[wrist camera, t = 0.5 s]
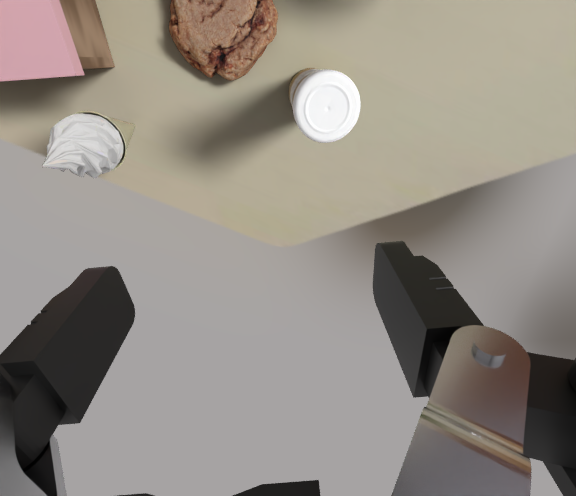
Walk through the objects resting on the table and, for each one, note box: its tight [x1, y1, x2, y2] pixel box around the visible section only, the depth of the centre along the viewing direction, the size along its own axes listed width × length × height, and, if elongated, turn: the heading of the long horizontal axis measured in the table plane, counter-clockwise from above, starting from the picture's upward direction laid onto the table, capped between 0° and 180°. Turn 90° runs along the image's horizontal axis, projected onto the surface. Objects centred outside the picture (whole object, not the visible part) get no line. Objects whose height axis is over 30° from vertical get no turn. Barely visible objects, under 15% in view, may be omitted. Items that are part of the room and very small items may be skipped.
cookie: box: [169, 0, 278, 81], centre depth 28 cm, size 10×11×3 cm
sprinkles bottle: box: [289, 68, 360, 143], centre depth 27 cm, size 5×5×14 cm
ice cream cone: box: [42, 111, 135, 178], centre depth 27 cm, size 5×5×15 cm
